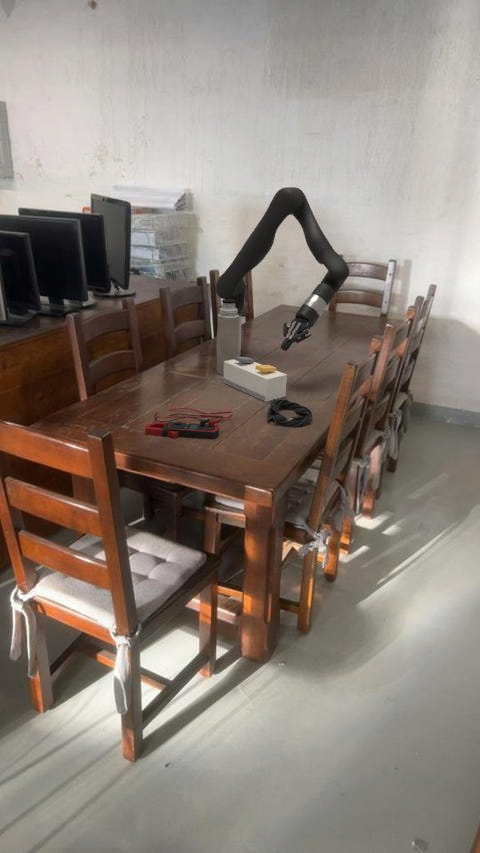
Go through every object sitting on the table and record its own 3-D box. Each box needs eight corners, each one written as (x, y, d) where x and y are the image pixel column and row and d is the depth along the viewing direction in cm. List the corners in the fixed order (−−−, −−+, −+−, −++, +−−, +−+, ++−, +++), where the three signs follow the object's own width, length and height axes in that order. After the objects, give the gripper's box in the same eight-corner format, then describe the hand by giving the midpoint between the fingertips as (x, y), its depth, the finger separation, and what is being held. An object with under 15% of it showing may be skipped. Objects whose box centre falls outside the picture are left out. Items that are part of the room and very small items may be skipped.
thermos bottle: (222, 368, 232) (223, 296, 221) (240, 371, 229) (243, 299, 218) (213, 373, 226) (214, 300, 214) (232, 376, 223) (234, 302, 211)
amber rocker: (255, 370, 203) (255, 365, 202) (268, 369, 206) (268, 364, 206) (262, 373, 200) (263, 368, 199) (275, 372, 204) (276, 367, 203)
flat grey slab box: (233, 360, 211) (234, 356, 211) (246, 361, 215) (247, 357, 214) (240, 363, 208) (241, 359, 208) (253, 364, 212) (254, 359, 212)
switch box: (222, 382, 216) (222, 361, 213) (242, 377, 222) (243, 357, 219) (264, 401, 199) (266, 379, 196) (285, 396, 205) (286, 374, 202)
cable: (271, 405, 197) (272, 393, 195) (313, 409, 195) (314, 397, 193) (264, 425, 182) (265, 412, 180) (309, 430, 180) (311, 416, 178)
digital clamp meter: (227, 429, 167) (141, 423, 169) (227, 444, 169) (141, 437, 171) (236, 400, 189) (159, 395, 191) (236, 413, 190) (160, 408, 192)
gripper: (293, 300, 209) (265, 338, 207) (319, 307, 200) (290, 347, 198) (303, 313, 214) (275, 351, 212) (329, 320, 205) (300, 360, 203)
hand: (283, 349), depth 205 cm, fingers closed
